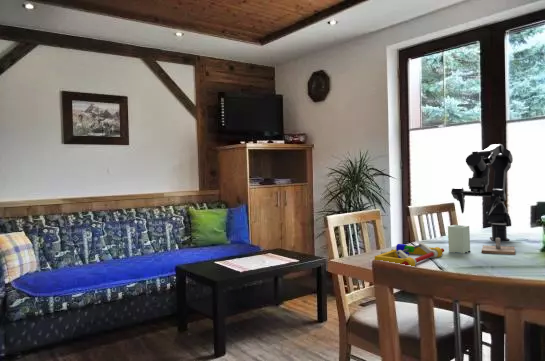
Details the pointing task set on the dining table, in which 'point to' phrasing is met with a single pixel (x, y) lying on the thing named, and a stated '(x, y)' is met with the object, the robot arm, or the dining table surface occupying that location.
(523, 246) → the dining table surface
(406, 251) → the mechanical clamp
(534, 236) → the dining table surface
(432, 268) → the dining table surface
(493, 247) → the peg stand
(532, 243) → the dining table surface
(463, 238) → the sleeve
